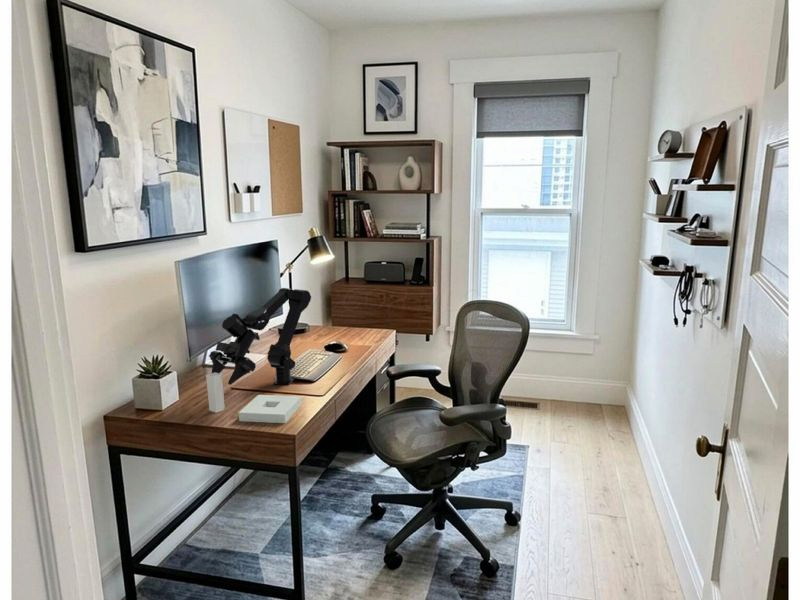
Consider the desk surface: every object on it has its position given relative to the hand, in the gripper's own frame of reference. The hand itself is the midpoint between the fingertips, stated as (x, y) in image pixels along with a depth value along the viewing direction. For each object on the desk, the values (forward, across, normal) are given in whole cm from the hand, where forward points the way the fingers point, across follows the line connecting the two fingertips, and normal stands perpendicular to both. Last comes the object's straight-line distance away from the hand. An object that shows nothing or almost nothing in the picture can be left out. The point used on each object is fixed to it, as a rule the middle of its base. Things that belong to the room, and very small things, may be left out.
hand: (220, 382), depth 186 cm
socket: (+3, +18, +11) cm, 21 cm away
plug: (+8, 0, +5) cm, 10 cm away
